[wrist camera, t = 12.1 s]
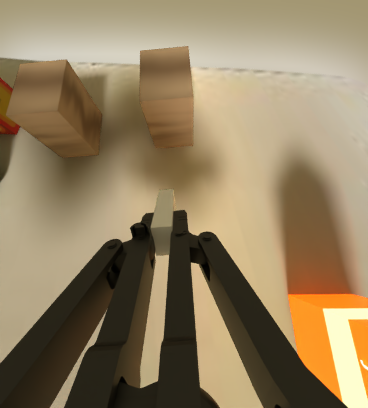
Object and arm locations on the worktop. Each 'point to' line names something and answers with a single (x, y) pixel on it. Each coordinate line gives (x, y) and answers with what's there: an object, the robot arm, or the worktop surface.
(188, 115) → the brown wooden block
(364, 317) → the orange juice
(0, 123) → the baking soda box
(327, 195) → the worktop surface
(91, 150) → the brown wooden block
